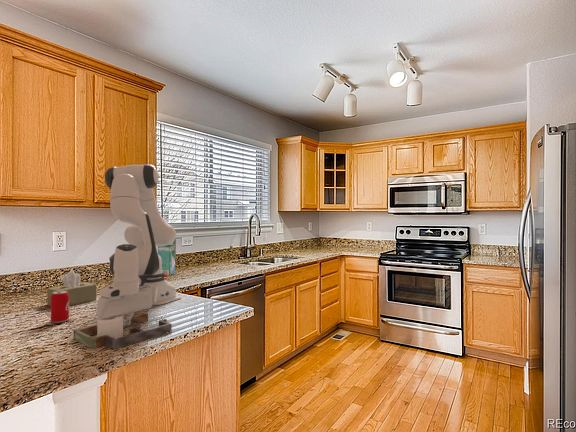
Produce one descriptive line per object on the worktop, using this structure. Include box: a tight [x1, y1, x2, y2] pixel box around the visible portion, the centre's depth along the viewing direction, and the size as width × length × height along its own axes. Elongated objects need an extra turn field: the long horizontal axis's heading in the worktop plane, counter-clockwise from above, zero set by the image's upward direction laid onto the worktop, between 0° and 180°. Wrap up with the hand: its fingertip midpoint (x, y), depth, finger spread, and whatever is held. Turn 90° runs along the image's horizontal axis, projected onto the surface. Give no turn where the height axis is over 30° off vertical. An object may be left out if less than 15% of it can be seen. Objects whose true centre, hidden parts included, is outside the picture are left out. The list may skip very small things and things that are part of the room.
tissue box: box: [46, 269, 97, 307], centre depth 172 cm, size 19×10×16 cm, turn 149°
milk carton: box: [157, 238, 177, 276], centre depth 251 cm, size 9×9×25 cm
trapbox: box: [73, 312, 173, 350], centre depth 129 cm, size 28×20×3 cm
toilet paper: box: [96, 315, 124, 339], centre depth 127 cm, size 8×11×7 cm
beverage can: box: [50, 291, 70, 324], centre depth 143 cm, size 6×6×12 cm
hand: (125, 324), depth 132 cm, fingers closed
